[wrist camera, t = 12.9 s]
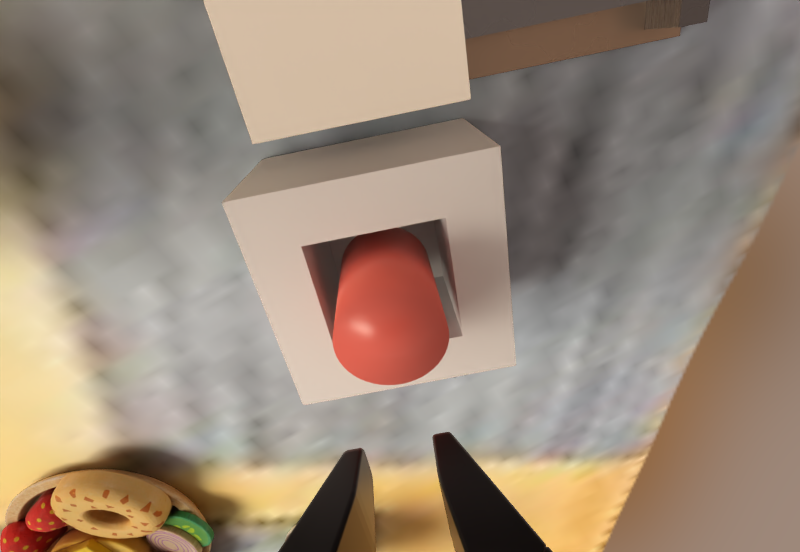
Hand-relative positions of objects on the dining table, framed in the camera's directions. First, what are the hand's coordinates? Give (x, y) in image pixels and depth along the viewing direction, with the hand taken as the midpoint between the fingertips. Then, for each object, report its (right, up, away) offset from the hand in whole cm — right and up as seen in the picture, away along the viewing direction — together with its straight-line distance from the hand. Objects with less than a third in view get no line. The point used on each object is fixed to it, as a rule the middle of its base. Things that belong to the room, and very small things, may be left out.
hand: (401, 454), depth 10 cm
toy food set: (-19, -13, +21) cm, 31 cm away
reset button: (-1, +4, +8) cm, 9 cm away
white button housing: (-1, +6, +11) cm, 13 cm away
